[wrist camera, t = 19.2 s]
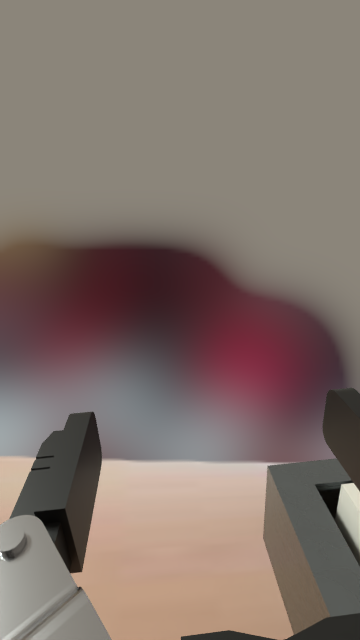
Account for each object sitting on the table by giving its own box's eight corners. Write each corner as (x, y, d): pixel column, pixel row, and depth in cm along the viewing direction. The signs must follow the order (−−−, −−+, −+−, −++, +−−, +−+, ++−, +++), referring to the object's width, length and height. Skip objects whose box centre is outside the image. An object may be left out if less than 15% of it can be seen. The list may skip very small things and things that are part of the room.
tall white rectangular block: (376, 620, 33) (404, 524, 28) (347, 624, 33) (370, 528, 28) (350, 571, 37) (371, 480, 32) (325, 575, 37) (341, 484, 32)
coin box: (467, 675, 29) (512, 592, 24) (314, 697, 28) (330, 617, 24) (370, 525, 42) (387, 453, 37) (263, 537, 41) (267, 465, 37)
